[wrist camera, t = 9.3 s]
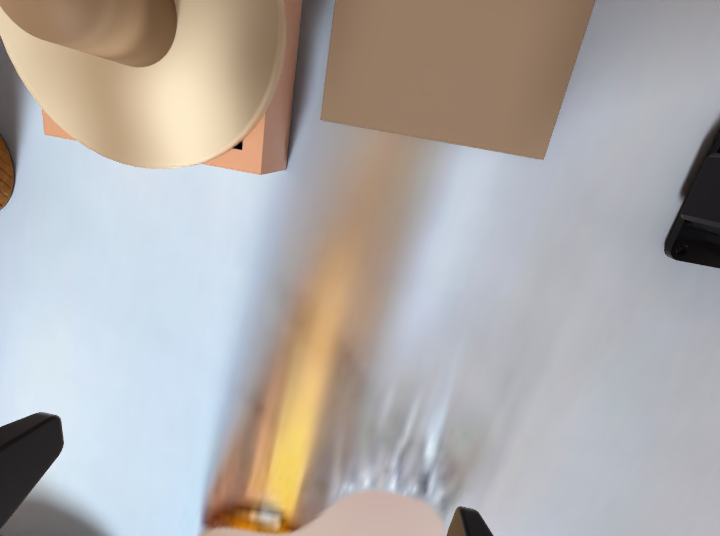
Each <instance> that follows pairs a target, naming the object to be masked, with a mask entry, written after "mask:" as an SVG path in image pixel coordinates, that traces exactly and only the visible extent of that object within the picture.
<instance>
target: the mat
mask: <svg viewBox="0 0 720 536" xmlns="http://www.w3.org/2000/svg"><path fill="white" fill-rule="evenodd" d="M594 3H595V0H335V7H334V15H333V23H332V31H331V39H330V47H329V55H328V63H327V71H326V79H325V87H324V95H323V103H322V111H321V119H320V120H323V121H329V122H334V123H340V124H345V125H351V126H357V127H362V128H368V129H373V130H379V131H385V132H390V133H396V134H401V135H407V136H412V137H418V138H424V139H429V140H435V141H440V142H446V143H451V144H457V145H463V146H468V147H474V148H479V149H485V150H490V151H496V152H502V153H507V154H513V155H518V156H524V157H530V158H535V159H543V160H544V157H545V154H546V151H547V148H548V145H549V142H550V138H551V135H552V132H553V129H554V126H555V123H556V120H557V117H558V114H559V111H560V108H561V105H562V102H563V99H564V95H565V92H566V89H567V86H568V83H569V80H570V77H571V74H572V71H573V68H574V65H575V62H576V59H577V55H578V52H579V49H580V46H581V43H582V40H583V37H584V34H585V31H586V28H587V25H588V22H589V19H590V15H591V12H592V9H593V6H594Z"/></svg>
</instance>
